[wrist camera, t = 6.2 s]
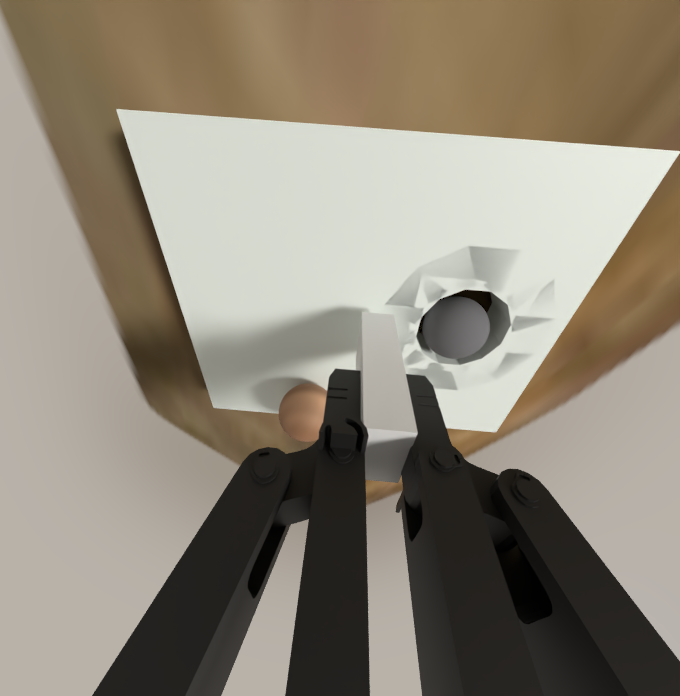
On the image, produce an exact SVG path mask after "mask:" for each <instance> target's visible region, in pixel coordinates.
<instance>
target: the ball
mask: <svg viewBox="0 0 680 696" xmlns="http://www.w3.org/2000/svg"><path fill="white" fill-rule="evenodd" d="M489 331H490V322H489V318H488V315H487V313H486V311H485V310H484V309H483V307H482V306H481V305H480V304H478V303H477V302H475V301H474V300H472V299H469V298H466V297H460V296H455V297H448V298H445V299H442V300H440V301H438V302H437V303H435V304H434V305H433V306H432V307H431V308H430V309H429V310H428V312H427V313H426V315H425V317H424V320H423V325H422V332H423V337H424V340H425V341H426V343H427V345H428V346H429V347H430V349H431V350H432V351H434V352H435V353H437V354H438V355H440V356H442V357H446V358H450V359H460V358H465V357H468V356H470V355H472V354H474V353H476V352H477V351H478V350H479V349H481V347H482V346H483V345H484V344H485V342H486V340H487V338H488V336H489Z"/></svg>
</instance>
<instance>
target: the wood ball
mask: <svg viewBox="0 0 680 696" xmlns="http://www.w3.org/2000/svg"><path fill="white" fill-rule="evenodd" d="M326 396H327V390H325V389H324V388H322V387H321V386H319V385H316V384H311V383H306V384H300V385H297V386H295V387H293V388H292V389H291V390H289V391H288V392H287V393H286V394H285V396H284V397H283V399H282V401H281V403H280V407H279V420H280V424H281V426H282V428H283V429H284V431H285V432H286V433H287V434H288V435H289V436H290V437H292V438H293V439H296V440H299V441H303V442H310V441H314V440H317V439H319V430H320V427H321V425H322V423H323V419H324V411H325V404H326Z"/></svg>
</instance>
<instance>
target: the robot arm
mask: <svg viewBox="0 0 680 696" xmlns="http://www.w3.org/2000/svg"><path fill="white" fill-rule="evenodd" d="M401 475H402V482H403V491H402V493H401V496H400V498H399V500H398V503H397V506H396V512H398V513H399V512H400V510H402V519H403V529H404V537H405V546H406V555H407V563H408V573H409V582H410V591H411V600H412V609H413V617H414V625H415V635H416V644H417V653H418V662H419V670H420V680H421V688H422V696H680V661H679V660H678V659H677V657H676V656H675V655H674V653H673V652H672V651H671V649H670V648H669V647H668V646H667V644H666V643H665V642H664V641H663V639H662V638H661V636H660V635H659V634H658V633H657V631H656V630H655V629H654V627H653V626H652V625H651V624H650V622H649V621H648V620H647V619H646V617H645V616H644V615H643V613H642V612H641V611H640V609H639V608H638V607H637V605H636V604H635V603H634V601H633V600H632V599H631V598H630V596H629V595H628V594H627V592H626V591H625V590H624V589H623V587H622V586H621V585H620V583H619V582H618V581H617V579H616V578H615V577H614V576H613V574H612V573H611V572H610V570H609V569H608V568H607V567H606V566H605V564H604V563H603V561H602V560H601V559H600V557H599V556H598V555H597V553H595V551H594V549H593V548H592V547H591V546H590V544H589V543H588V542H587V541H586V539H585V538H584V537H583V535H582V534H581V533H580V531H579V530H578V529H577V527H576V526H575V525H574V524H573V522H572V521H571V520H570V518H569V517H568V516H567V514H566V513H565V512H564V511H563V509H562V508H561V507H560V506H559V504H558V503H557V501H556V500H555V499H554V498H553V497H552V495H551V494H550V492H549V491H548V490H547V489H546V488H545V487H544V486H543V484H541V482H540V481H539V480H537V479H536V478H534V477H533V476H532V475H530V474H528V473H526V472H524V471H521V470H518V469H507V470H505V471H502V472H501V474H500V475H497V474H495V473H492V472H490V471H487V470H484V469H482V468H479V467H477V466H475V465H473V464H471V463H469V462H467V461H466V460H465V459H464V458H463V456H462V454H461V453H460V452H459V451H458V450H457V449H456V448H455V447H453V446H452V444H451V442H450V439H449V436H448V433H447V429H446V426H445V423H444V420H443V416H442V413H441V410H440V407H439V403H438V400H437V398H436V394H435V390H434V387H433V385H432V384H431V382H430V381H429V380H428V379H427V378H426V376H423V375H412V374H406V372H405V368H404V363H403V358H402V353H401V348H400V343H399V338H398V333H397V328H396V323H395V318H394V315H391V314H379V313H368V312H362V316H361V323H360V331H359V338H358V346H357V354H356V370H347V369H336V368H335V370H334V371H333V372H332V374H331V375H330V376H329V381H328V389H327V396H326V404H325V411H324V419H323V423H322V425H321V427H320V430H319V439H318V440H317V441H316V442H315V443H314V444H313V445H312V446H310V447H309V448H307V449H304V450H301V451H298V452H293V453H289V454H285V453H284V452H282V451H281V450H279V449H277V448H270V447H267V448H262V449H258V450H256V451H255V452H253V453H251V454H250V455H249V456H248V457H247V458H246V459H245V460H244V461H243V462H242V464H241V466H240V467H239V469H238V470H237V472H236V473H235V475H234V476H233V478H232V480H231V481H230V483H229V484H228V486H227V487H226V489H225V490H224V492H223V494H222V495H221V497H220V498H219V500H218V501H217V503H216V504H215V506H214V507H213V509H212V511H211V512H210V514H209V515H208V517H207V519H206V520H205V521H204V523H203V525H202V526H201V528H200V529H199V531H198V532H197V534H196V535H195V537H194V539H193V540H192V542H191V543H190V545H189V546H188V548H187V549H186V551H185V552H184V554H183V556H182V557H181V559H180V560H179V562H178V563H177V565H176V566H175V568H174V570H173V571H172V573H171V574H170V576H169V577H168V579H167V580H166V582H165V583H164V585H163V587H162V588H161V590H160V591H159V593H158V594H157V596H156V597H155V599H154V601H153V602H152V604H151V605H150V607H149V608H148V610H147V611H146V613H145V615H144V616H143V618H142V619H141V621H140V622H139V624H138V625H137V627H136V628H135V630H134V632H133V633H132V635H131V636H130V638H129V639H128V641H127V643H126V644H125V646H124V647H123V649H122V650H121V652H120V653H119V655H118V656H117V658H116V659H115V661H114V663H113V664H112V666H111V667H110V669H109V670H108V672H107V673H106V675H105V677H104V678H103V680H102V681H101V683H100V684H99V686H98V688H97V689H96V691H95V692H94V694H93V695H92V696H221V694H222V692H223V690H224V687H225V685H226V682H227V680H228V677H229V675H230V672H231V670H232V667H233V665H234V663H235V660H236V658H237V655H238V652H239V650H240V648H241V645H242V643H243V640H244V638H245V636H246V633H247V631H248V628H249V626H250V623H251V621H252V618H253V616H254V613H255V611H256V608H257V606H258V604H259V601H260V599H261V596H262V594H263V591H264V589H265V586H266V584H267V581H268V579H269V577H270V574H271V571H272V569H273V567H274V564H275V562H276V559H277V557H278V554H279V552H280V549H281V547H282V544H283V542H284V540H285V537H286V535H287V532H288V530H289V527H290V525H291V524H294V523H297V522H300V521H304V520H307V519H309V523H308V530H307V538H306V545H305V552H304V560H303V567H302V575H301V582H300V590H299V598H298V605H297V613H296V620H295V628H294V635H293V642H292V650H291V657H290V665H289V672H288V680H287V687H286V695H285V696H370V689H369V688H370V685H369V638H368V637H369V636H368V635H369V634H368V584H367V536H366V485H365V480H374V481H385V482H396V483H398V482H399V480H400V477H401Z"/></svg>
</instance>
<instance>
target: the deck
mask: <svg viewBox="0 0 680 696" xmlns="http://www.w3.org/2000/svg"><path fill="white" fill-rule="evenodd" d="M116 110H117V113H118V116H119V120H120V123H121V126H122V129H123V132H124V135H125V138H126V141H127V144H128V147H129V150H130V153H131V156H132V159H133V162H134V165H135V169H136V172H137V175H138V178H139V181H140V184H141V187H142V190H143V193H144V196H145V199H146V202H147V205H148V208H149V211H150V215H151V218H152V221H153V224H154V227H155V230H156V233H157V236H158V239H159V242H160V245H161V248H162V251H163V254H164V257H165V261H166V264H167V267H168V270H169V273H170V276H171V279H172V282H173V285H174V288H175V291H176V294H177V297H178V300H179V303H180V307H181V310H182V313H183V316H184V319H185V322H186V325H187V328H188V331H189V334H190V337H191V340H192V343H193V346H194V349H195V353H196V356H197V359H198V362H199V365H200V368H201V371H202V374H203V377H204V380H205V383H206V386H207V389H208V392H209V395H210V399H211V402H212V405H213V408H221V409H232V410H244V411H256V412H267V413H279V407H280V403H281V401H282V399H283V397H284V396H285V394H286V393H287V392H288V391H289V390H291V389H292V388H293V387H295V386H297V385H300V384H306V383H311V384H316V385H319V386H321V387H322V388H324V389H325V390H327V389H328V381H329V376H330V375H331V374H332V372H333V371H334V370H335V368H336V369H347V370H356V354H357V346H358V338H359V331H360V323H361V316H362V312H368V313H379V314H391V315H394V318H395V323H396V328H397V333H398V338H399V343H400V348H401V353H402V358H403V363H404V368H405V372H406V374H412V375H423V376H426V378H427V379H428V380H429V381H430V382H431V384H432V385H433V387H434V390H435V394H436V398H437V400H438V403H439V407H440V410H441V413H442V416H443V420H444V423H445V426H446V428H452V429H464V430H476V431H487V432H497V430H498V428H499V427H500V425H501V424H502V422H503V421H504V419H505V418H506V416H507V415H508V413H509V412H510V410H511V409H512V407H513V406H514V404H515V403H516V401H517V400H518V398H519V397H520V395H521V393H522V392H523V390H524V389H525V387H526V386H527V384H528V383H529V381H530V380H531V378H532V377H533V375H534V374H535V372H536V371H537V369H538V368H539V366H540V365H541V363H542V362H543V360H544V358H545V357H546V355H547V354H548V352H549V351H550V349H551V348H552V346H553V345H554V343H555V342H556V340H557V339H558V337H559V336H560V334H561V333H562V331H563V330H564V328H565V327H566V325H567V323H568V322H569V320H570V319H571V317H572V316H573V314H574V313H575V311H576V310H577V308H578V307H579V305H580V304H581V302H582V301H583V299H584V298H585V296H586V295H587V293H588V292H589V290H590V288H591V287H592V285H593V284H594V282H595V281H596V279H597V278H598V276H599V275H600V273H601V272H602V270H603V269H604V267H605V266H606V264H607V263H608V261H609V260H610V258H611V257H612V255H613V253H614V252H615V250H616V249H617V247H618V246H619V244H620V243H621V241H622V240H623V238H624V237H625V235H626V234H627V232H628V231H629V229H630V228H631V226H632V225H633V223H634V222H635V220H636V218H637V217H638V215H639V214H640V212H641V211H642V209H643V208H644V206H645V205H646V203H647V202H648V200H649V199H650V197H651V196H652V194H653V193H654V191H655V190H656V188H657V187H658V185H659V183H660V182H661V180H662V179H663V177H664V176H665V174H666V173H667V171H668V170H669V168H670V167H671V165H672V164H673V162H674V161H675V159H676V158H677V156H678V155H679V153H680V151H670V150H657V149H643V148H630V147H617V146H603V145H590V144H576V143H563V142H550V141H536V140H523V139H510V138H496V137H483V136H470V135H456V134H443V133H429V132H416V131H403V130H389V129H376V128H363V127H349V126H336V125H322V124H309V123H296V122H282V121H269V120H256V119H242V118H229V117H216V116H202V115H189V114H175V113H162V112H149V111H135V110H122V109H116ZM463 290H477V291H489V292H490V294H491V300H492V303H491V306H490V308H489V310H488V313H487V315H488V318H489V322H490V331H489V336H488V338H487V340H486V342H485V344H484V345H483V346H482V347H481V349H479V350H478V351H477V352H476V353H474V354H472V355H470V356H468V357H465V358H460V359H450V358H446V357H442V356H440V355H438V354H437V353H435V352H434V351H432V350H431V349H430V347H429V346H428V345H427V343H426V341H425V340H424V337H423V334H421V333H420V332H418V328H419V324H420V321H421V317H422V316H423V315H424V314H425V313H426V312H427V311H428V310H429V309H430V308H431V307H432V306H433V305H434V304H435V303H436V302H437V301H438V300H439V299H442V298H444V297H447V296H450V295H452V294H455V293H457V292H460V291H463Z"/></svg>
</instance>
